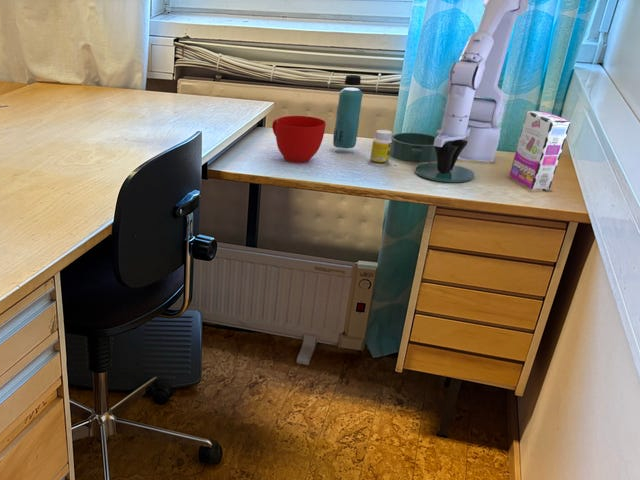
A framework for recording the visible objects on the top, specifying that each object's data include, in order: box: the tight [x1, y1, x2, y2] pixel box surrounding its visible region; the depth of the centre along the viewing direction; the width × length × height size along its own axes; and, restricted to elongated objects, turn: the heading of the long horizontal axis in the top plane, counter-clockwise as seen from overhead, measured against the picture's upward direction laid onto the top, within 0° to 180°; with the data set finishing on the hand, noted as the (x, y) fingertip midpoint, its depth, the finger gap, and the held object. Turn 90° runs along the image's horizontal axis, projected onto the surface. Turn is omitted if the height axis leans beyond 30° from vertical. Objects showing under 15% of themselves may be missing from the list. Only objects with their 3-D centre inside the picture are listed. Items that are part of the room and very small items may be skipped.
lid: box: [414, 157, 475, 183], centre depth 177 cm, size 14×14×5 cm
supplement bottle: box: [369, 129, 393, 165], centre depth 185 cm, size 5×5×8 cm
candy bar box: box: [508, 110, 572, 192], centre depth 169 cm, size 11×5×16 cm, turn 5°
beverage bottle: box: [332, 74, 364, 149], centre depth 193 cm, size 6×7×20 cm
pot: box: [389, 132, 437, 164], centre depth 192 cm, size 13×19×5 cm
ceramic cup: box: [271, 115, 327, 164], centre depth 189 cm, size 13×17×10 cm
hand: (444, 170), depth 177 cm, fingers closed on lid, 2 cm apart
